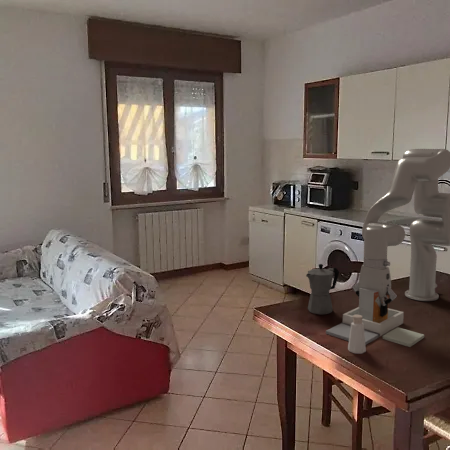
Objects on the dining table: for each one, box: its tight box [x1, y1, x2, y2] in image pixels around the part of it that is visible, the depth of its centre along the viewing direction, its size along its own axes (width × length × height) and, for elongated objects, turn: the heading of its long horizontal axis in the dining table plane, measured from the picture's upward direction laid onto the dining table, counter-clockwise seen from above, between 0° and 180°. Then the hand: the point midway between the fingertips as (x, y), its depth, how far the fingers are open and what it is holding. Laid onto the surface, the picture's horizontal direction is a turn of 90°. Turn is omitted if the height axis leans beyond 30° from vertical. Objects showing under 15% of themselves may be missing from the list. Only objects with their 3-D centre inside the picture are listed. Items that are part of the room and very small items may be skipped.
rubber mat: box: [382, 326, 425, 348], centre depth 152 cm, size 10×9×1 cm
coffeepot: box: [305, 263, 340, 315], centre depth 178 cm, size 15×9×18 cm, turn 119°
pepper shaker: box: [347, 315, 367, 355], centre depth 143 cm, size 5×5×11 cm
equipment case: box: [325, 306, 405, 346], centre depth 160 cm, size 26×14×4 cm, turn 133°
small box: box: [358, 288, 390, 323], centre depth 163 cm, size 8×6×13 cm
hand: (373, 312), depth 163 cm, fingers closed on small box, 6 cm apart
